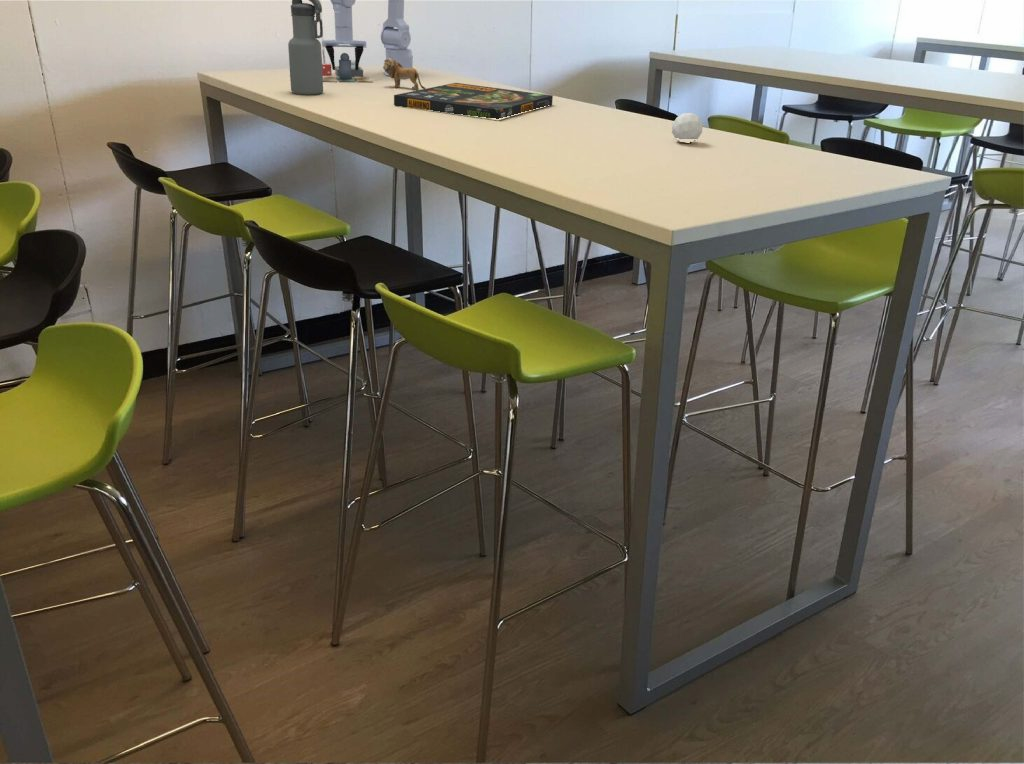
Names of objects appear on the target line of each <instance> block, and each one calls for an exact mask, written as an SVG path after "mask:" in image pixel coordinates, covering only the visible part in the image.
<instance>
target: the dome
mask: <svg viewBox="0 0 1024 764" xmlns="http://www.w3.org/2000/svg"><path fill="white" fill-rule="evenodd" d="M350 60H351V69H355V59H354V60H353V59H350Z"/></svg>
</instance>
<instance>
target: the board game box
mask: <svg viewBox="0 0 1024 764" xmlns="http://www.w3.org/2000/svg"><path fill="white" fill-rule="evenodd" d="M553 97H554V95H552V94H551V95H550V94H544V93H537V92H529V91H522V90H514V89H508V88H507V89H506V88H501V87H500V88H499V87H491V86H485V85H484V86H483V85H474V84H468V83H460V82H453V83H447V84H442V85H438V86H432V87H427V88H426V89H423V88H421V89H418V90H417V91H415V90H413V91H412V90H411V91H407V92H403V93H398V94H397V93H396V94H393V106H394V105H395V107H399V106H402V107H401V108H406V107H410V108H409V109H413V108H419V109H418V110H420V109H426V110H425V111H427V110H433V111H432V112H434V111H440V112H439V113H441V112H447V113H454V114H463V115H470V116H478V117H486V118H496V119H499V118H503V117H507V116H511V115H514V114H518V113H521V112H525V111H529V110H533V109H536V108H540V107H544V106H548V105H552V106H553V100H554V98H553ZM548 107H549V106H548ZM447 113H446V114H447ZM454 114H453V115H454Z"/></svg>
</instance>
